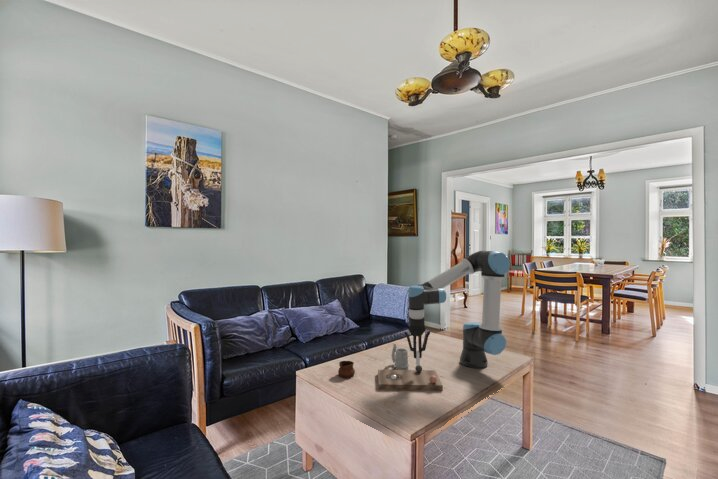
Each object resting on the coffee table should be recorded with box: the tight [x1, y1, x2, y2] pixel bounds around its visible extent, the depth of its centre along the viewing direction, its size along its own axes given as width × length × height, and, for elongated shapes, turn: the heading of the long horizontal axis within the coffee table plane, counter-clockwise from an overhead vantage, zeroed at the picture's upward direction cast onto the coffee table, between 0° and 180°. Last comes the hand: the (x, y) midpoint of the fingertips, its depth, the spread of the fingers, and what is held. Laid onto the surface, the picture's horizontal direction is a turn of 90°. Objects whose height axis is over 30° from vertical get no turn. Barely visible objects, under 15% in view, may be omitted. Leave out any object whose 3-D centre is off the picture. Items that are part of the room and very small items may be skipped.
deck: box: [377, 369, 444, 392], centre depth 171 cm, size 30×18×2 cm, turn 88°
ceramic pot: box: [337, 360, 356, 379], centre depth 179 cm, size 18×18×7 cm
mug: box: [391, 343, 409, 370], centre depth 191 cm, size 8×12×12 cm, turn 36°
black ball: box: [414, 365, 423, 372], centre depth 177 cm, size 4×4×4 cm
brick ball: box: [429, 375, 437, 383], centre depth 164 cm, size 4×4×4 cm
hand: (417, 364), depth 171 cm, fingers closed
